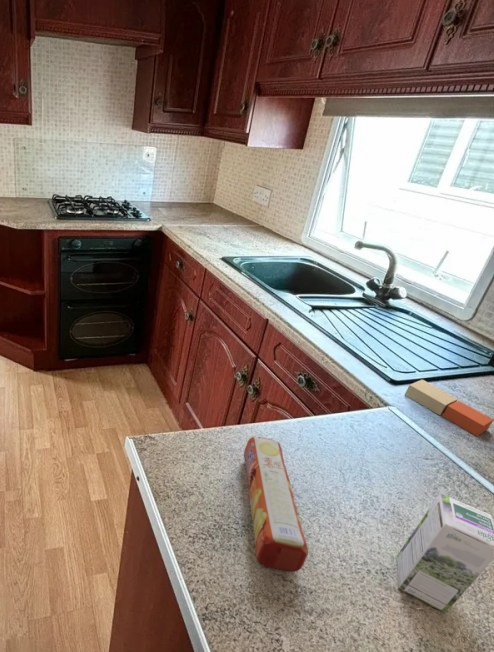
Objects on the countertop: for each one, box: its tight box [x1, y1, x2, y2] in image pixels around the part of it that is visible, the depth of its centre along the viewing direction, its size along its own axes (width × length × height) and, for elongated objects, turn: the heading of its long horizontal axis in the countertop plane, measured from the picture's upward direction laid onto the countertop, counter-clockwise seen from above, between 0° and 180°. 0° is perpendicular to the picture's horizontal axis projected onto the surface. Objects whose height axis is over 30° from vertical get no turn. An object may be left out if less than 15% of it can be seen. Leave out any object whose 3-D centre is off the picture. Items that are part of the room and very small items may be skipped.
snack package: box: [243, 436, 309, 573], centre depth 64 cm, size 21×7×7 cm, turn 169°
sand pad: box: [404, 379, 459, 416], centre depth 97 cm, size 8×6×3 cm
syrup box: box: [396, 493, 494, 614], centre depth 54 cm, size 6×6×14 cm
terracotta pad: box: [441, 400, 494, 437], centre depth 91 cm, size 7×5×3 cm
